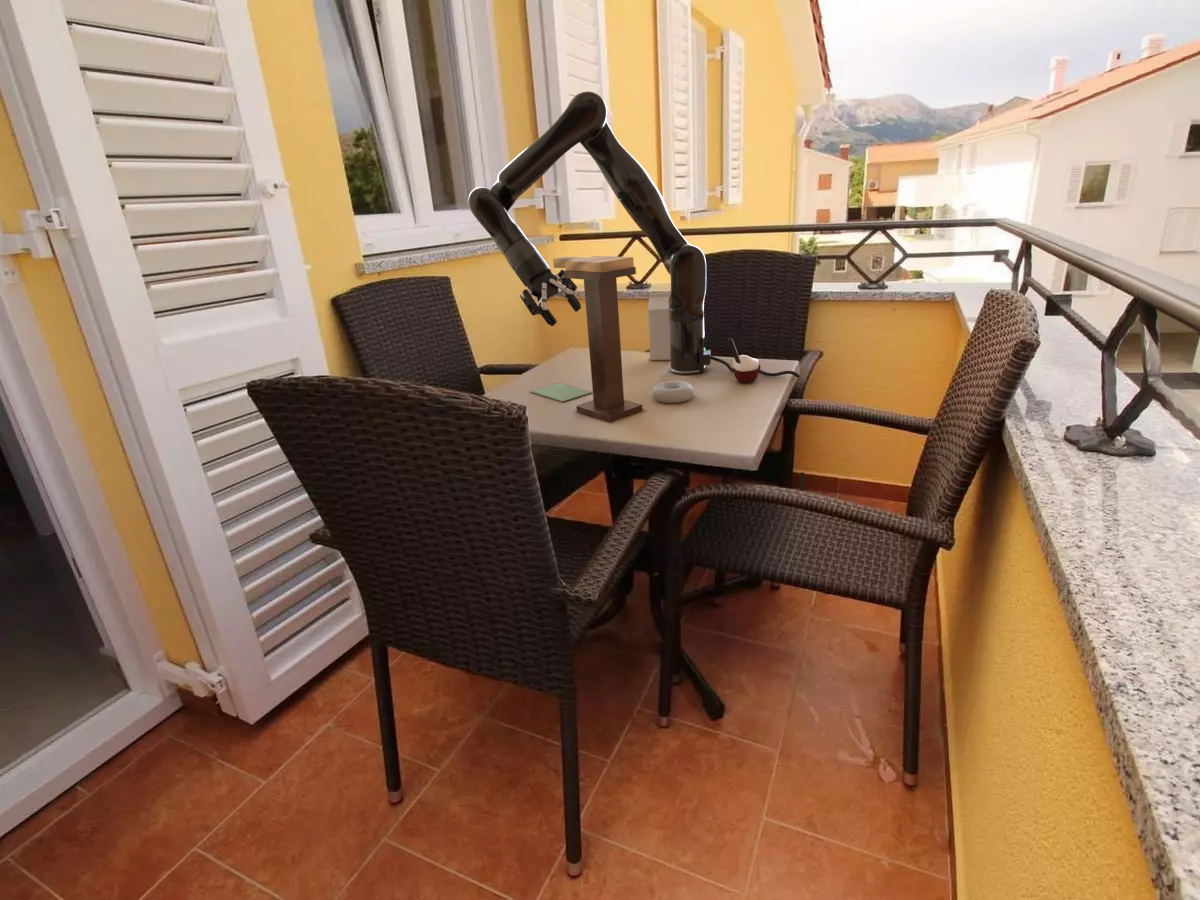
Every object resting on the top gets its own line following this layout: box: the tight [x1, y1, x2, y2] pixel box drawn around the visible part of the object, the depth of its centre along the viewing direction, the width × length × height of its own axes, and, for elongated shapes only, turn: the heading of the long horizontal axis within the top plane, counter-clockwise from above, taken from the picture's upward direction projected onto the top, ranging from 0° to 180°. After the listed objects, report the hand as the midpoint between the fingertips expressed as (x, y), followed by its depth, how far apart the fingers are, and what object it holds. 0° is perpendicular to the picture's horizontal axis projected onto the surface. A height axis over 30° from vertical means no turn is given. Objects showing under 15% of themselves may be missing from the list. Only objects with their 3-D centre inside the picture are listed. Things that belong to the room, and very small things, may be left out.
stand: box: [564, 266, 644, 423], centre depth 139 cm, size 12×10×32 cm
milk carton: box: [647, 292, 671, 361], centre depth 184 cm, size 7×7×19 cm
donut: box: [651, 380, 695, 404], centre depth 150 cm, size 10×4×10 cm
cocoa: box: [727, 337, 762, 384], centre depth 157 cm, size 10×6×12 cm, turn 96°
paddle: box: [552, 255, 635, 273], centre depth 136 cm, size 20×9×2 cm, turn 40°
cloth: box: [530, 382, 592, 403], centre depth 162 cm, size 14×9×1 cm, turn 40°
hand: (566, 317), depth 152 cm, fingers open, 8 cm apart
